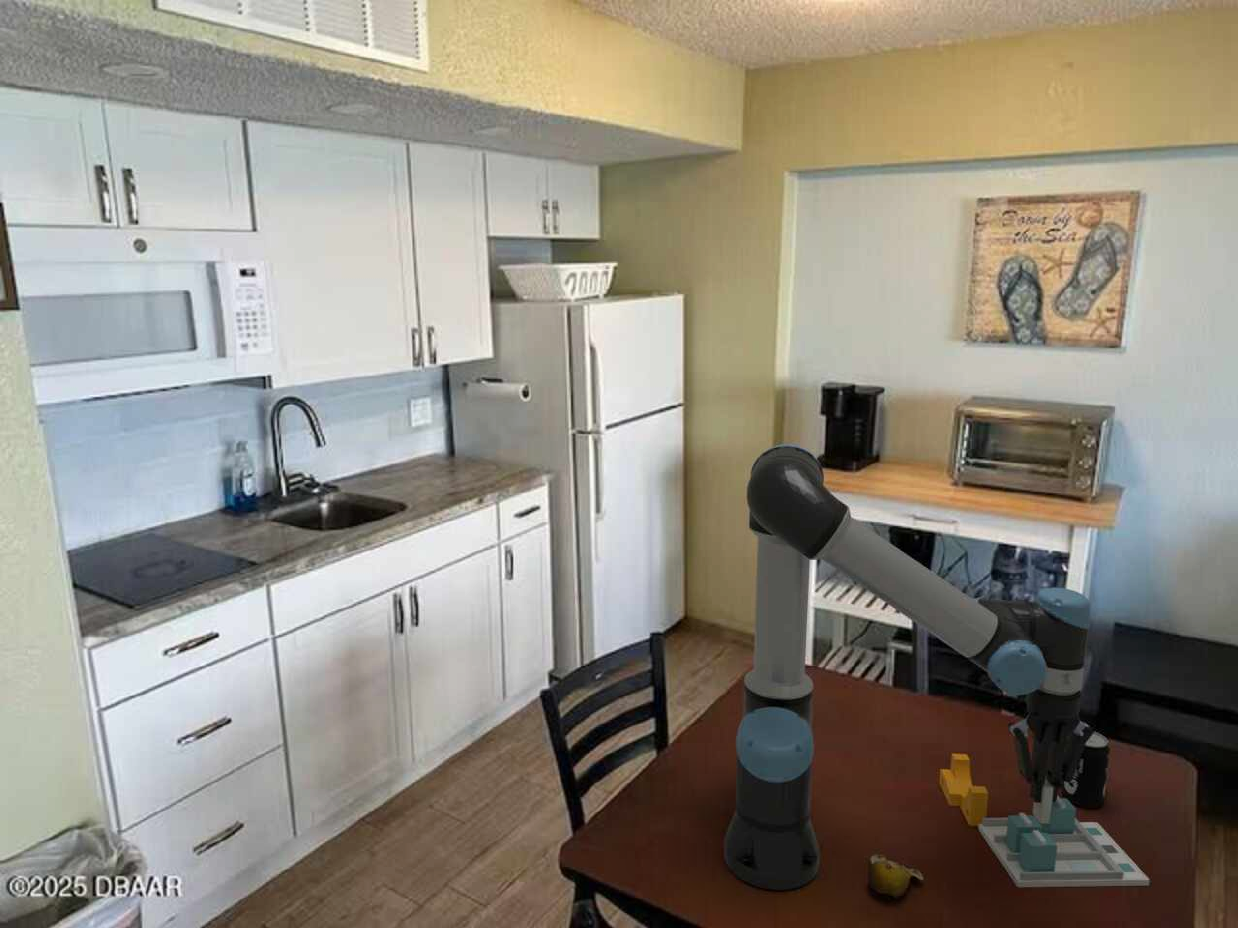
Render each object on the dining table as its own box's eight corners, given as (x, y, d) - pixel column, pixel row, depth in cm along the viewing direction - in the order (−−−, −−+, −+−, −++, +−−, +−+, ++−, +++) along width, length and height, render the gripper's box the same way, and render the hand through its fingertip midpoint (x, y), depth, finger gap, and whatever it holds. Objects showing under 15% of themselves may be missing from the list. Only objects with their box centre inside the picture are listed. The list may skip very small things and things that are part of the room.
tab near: (1028, 874, 127) (1031, 841, 126) (1018, 861, 130) (1021, 829, 129) (1054, 874, 127) (1057, 841, 126) (1044, 860, 130) (1047, 829, 129)
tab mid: (1014, 855, 131) (1017, 823, 130) (1005, 843, 134) (1008, 812, 133) (1039, 855, 131) (1042, 823, 130) (1030, 842, 134) (1033, 811, 133)
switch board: (1017, 887, 126) (1019, 874, 126) (978, 828, 140) (979, 817, 139) (1148, 885, 126) (1150, 872, 126) (1096, 827, 140) (1097, 815, 140)
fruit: (926, 875, 128) (927, 855, 127) (909, 910, 122) (910, 889, 121) (873, 854, 133) (874, 834, 132) (854, 886, 127) (855, 866, 126)
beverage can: (1102, 814, 143) (1110, 751, 141) (1059, 802, 147) (1066, 740, 144) (1104, 795, 149) (1111, 734, 146) (1062, 784, 152) (1069, 724, 150)
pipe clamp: (939, 784, 153) (941, 752, 151) (963, 786, 152) (966, 754, 151) (958, 825, 141) (961, 791, 140) (985, 827, 141) (988, 793, 139)
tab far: (1048, 836, 136) (1051, 806, 135) (1039, 825, 139) (1042, 795, 137) (1073, 836, 136) (1076, 805, 135) (1063, 825, 139) (1066, 794, 137)
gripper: (1025, 697, 128) (1012, 833, 133) (1109, 696, 128) (1093, 832, 133) (1003, 675, 135) (991, 804, 140) (1082, 674, 136) (1068, 803, 140)
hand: (1041, 817), depth 137 cm, fingers closed
